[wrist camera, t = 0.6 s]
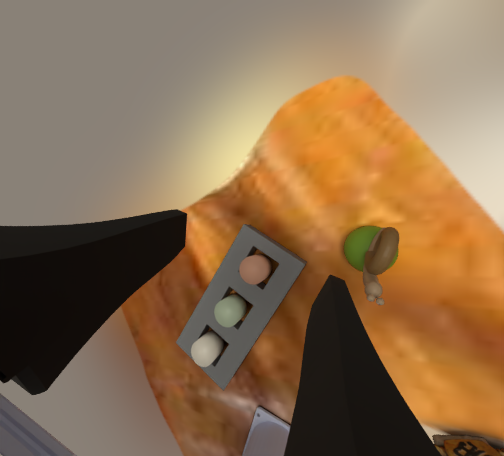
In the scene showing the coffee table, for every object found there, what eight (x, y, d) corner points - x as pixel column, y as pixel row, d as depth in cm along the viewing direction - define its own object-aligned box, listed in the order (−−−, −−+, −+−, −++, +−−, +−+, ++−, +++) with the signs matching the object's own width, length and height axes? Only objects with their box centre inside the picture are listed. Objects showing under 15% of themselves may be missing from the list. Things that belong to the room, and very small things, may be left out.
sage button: (239, 324, 31) (229, 333, 28) (220, 308, 32) (209, 315, 29) (251, 304, 30) (243, 311, 27) (232, 288, 31) (222, 294, 28)
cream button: (216, 360, 32) (205, 372, 29) (199, 343, 33) (187, 354, 30) (227, 342, 31) (217, 352, 28) (210, 325, 32) (198, 334, 29)
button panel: (231, 379, 33) (223, 390, 30) (186, 335, 36) (175, 342, 34) (307, 262, 29) (305, 264, 27) (250, 224, 32) (243, 224, 30)
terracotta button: (263, 284, 30) (256, 290, 27) (243, 270, 31) (234, 273, 28) (276, 263, 29) (271, 266, 26) (255, 249, 30) (248, 250, 27)
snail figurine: (334, 267, 28) (337, 289, 17) (350, 221, 28) (364, 212, 16) (379, 283, 26) (416, 320, 15) (397, 234, 26) (449, 234, 14)
